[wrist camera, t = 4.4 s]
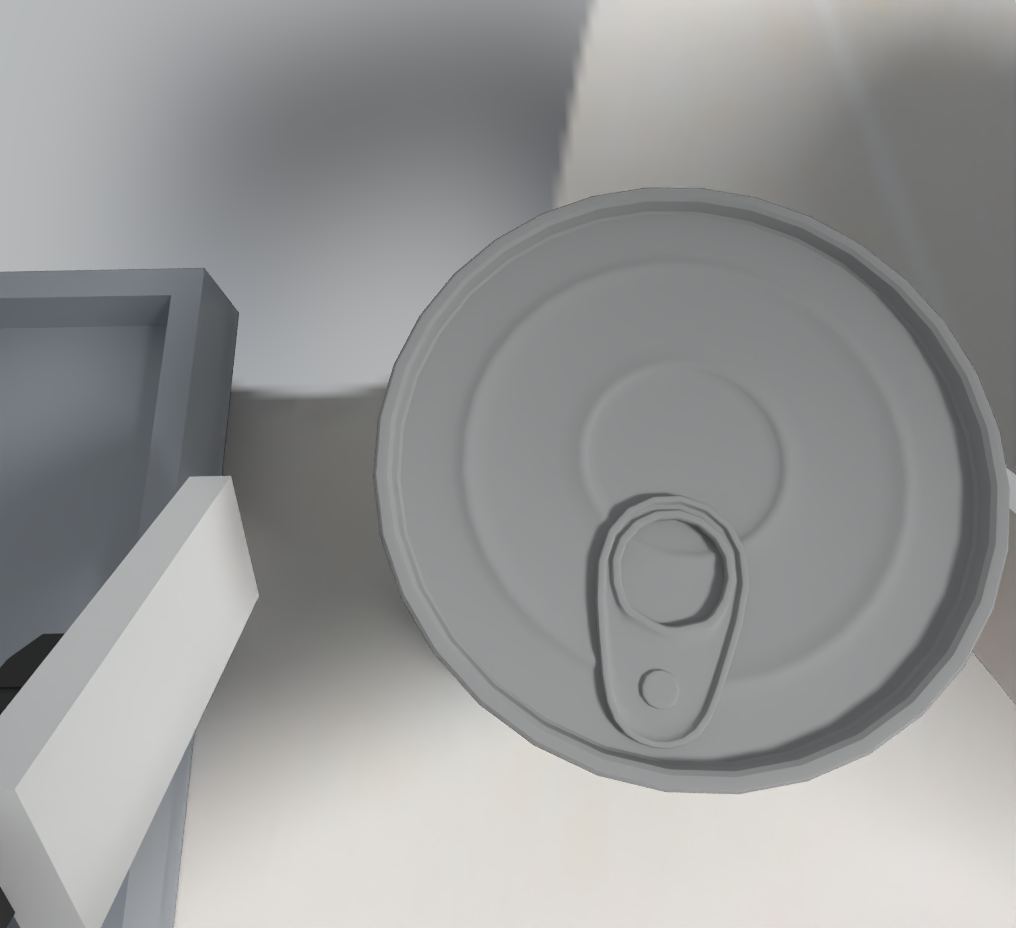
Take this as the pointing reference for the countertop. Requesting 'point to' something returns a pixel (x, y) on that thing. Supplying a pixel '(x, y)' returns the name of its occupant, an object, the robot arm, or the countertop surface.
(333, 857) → the countertop surface
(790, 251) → the canned tomato
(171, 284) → the tray
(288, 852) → the countertop surface
